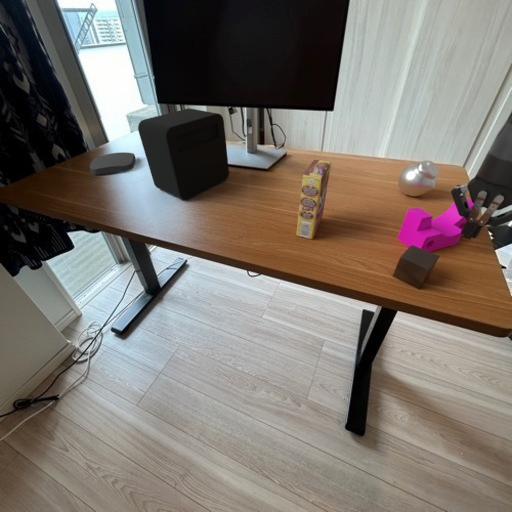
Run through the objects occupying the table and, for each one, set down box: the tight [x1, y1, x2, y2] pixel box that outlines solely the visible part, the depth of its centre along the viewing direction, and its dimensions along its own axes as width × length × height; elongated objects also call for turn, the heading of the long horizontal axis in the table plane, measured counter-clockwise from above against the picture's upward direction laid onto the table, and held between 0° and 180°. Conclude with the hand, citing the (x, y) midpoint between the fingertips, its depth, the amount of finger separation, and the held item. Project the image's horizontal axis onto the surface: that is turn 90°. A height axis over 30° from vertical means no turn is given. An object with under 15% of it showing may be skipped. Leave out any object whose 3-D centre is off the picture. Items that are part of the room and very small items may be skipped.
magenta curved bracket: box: [396, 197, 474, 252], centre depth 58 cm, size 15×6×8 cm, turn 109°
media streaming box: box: [89, 151, 137, 175], centre depth 100 cm, size 15×15×3 cm
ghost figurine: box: [397, 159, 440, 197], centre depth 73 cm, size 9×10×10 cm
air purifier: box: [137, 108, 230, 201], centre depth 80 cm, size 20×15×20 cm
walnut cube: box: [392, 245, 440, 290], centre depth 50 cm, size 5×5×5 cm
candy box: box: [295, 159, 332, 240], centre depth 60 cm, size 9×4×15 cm, turn 156°
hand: (467, 236), depth 56 cm, fingers closed
